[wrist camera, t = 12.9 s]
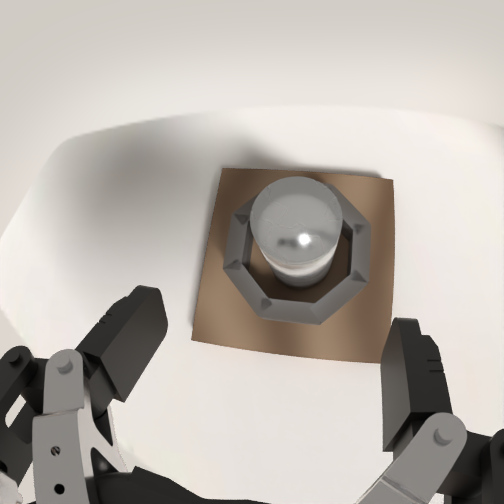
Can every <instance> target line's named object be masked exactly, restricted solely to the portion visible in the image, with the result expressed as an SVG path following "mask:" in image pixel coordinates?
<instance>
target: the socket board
mask: <svg viewBox="0 0 504 504" xmlns="http://www.w3.org/2000/svg"><path fill="white" fill-rule="evenodd" d="M293 176H300V177H307V178H311V179H314V180H316V181H318V182H320V183H322V184H324V185H325V186H326V187H328V188H329V189H330V190H331V191H332V192H333V194H334V195H335V196H336V198H337V200H338V202H339V204H340V207H341V210H342V218H343V221H342V228H341V232H340V236H339V239H338V243H337V246H336V250H335V253H334V257H333V260H332V263H331V266H330V270H329V272H328V274H327V276H326V277H325V278H324V280H323V281H322V282H320V283H319V284H318V285H316V286H314V287H312V288H309V289H305V290H296V289H291V288H289V287H286V286H284V285H283V284H282V283H280V282H279V281H278V280H277V279H276V277H275V276H274V274H273V272H272V270H271V269H270V267H269V265H268V263H267V261H266V259H265V257H264V255H263V253H262V252H261V250H260V248H259V246H258V244H257V242H256V240H255V238H254V236H253V234H252V231H251V226H250V214H251V209H252V206H253V204H254V202H255V200H256V198H257V196H258V195H259V194H260V193H261V191H262V190H263V189H265V188H266V187H267V186H268V185H270V184H271V183H273V182H275V181H277V180H280V179H282V178H286V177H293ZM394 259H395V215H394V188H393V180H392V179H383V178H374V177H365V176H355V175H344V174H333V173H320V172H305V171H288V170H267V169H235V168H223V169H222V174H221V178H220V183H219V188H218V193H217V198H216V202H215V207H214V212H213V218H212V223H211V228H210V233H209V238H208V244H207V249H206V254H205V260H204V266H203V271H202V277H201V283H200V288H199V294H198V300H197V306H196V312H195V319H194V325H193V331H192V338H191V340H193V341H198V342H204V343H209V344H215V345H220V346H226V347H232V348H238V349H245V350H251V351H258V352H265V353H272V354H280V355H288V356H296V357H305V358H315V359H325V360H336V361H348V362H362V363H379V364H381V356H382V352H383V348H384V346H385V343H386V340H387V337H388V334H389V331H390V327H391V316H392V303H393V286H394Z"/></svg>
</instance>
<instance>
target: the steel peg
mask: <svg viewBox="0 0 504 504" xmlns="http://www.w3.org/2000/svg"><path fill="white" fill-rule="evenodd" d="M342 221H343V218H342V210H341V207H340V204H339V202H338V200H337V198H336V196H335V195H334V194H333V192H332V191H331V190H330V189H329V188H328V187H326V186H325V185H324V184H322V183H320V182H318V181H316V180H314V179H311V178H307V177H300V176H293V177H286V178H282V179H280V180H277V181H275V182H273V183H271V184H270V185H268V186H267V187H266V188H265V189H263V190H262V191H261V193H260V194H259V195H258V196H257V198H256V200H255V202H254V204H253V206H252V209H251V214H250V226H251V231H252V234H253V236H254V238H255V240H256V242H257V244H258V246H259V248H260V250H261V252H262V253H263V255H264V257H265V259H266V261H267V263H268V265H269V267H270V269H271V270H272V272H273V274H274V276H275V277H276V279H277V280H278V281H279V282H280V283H282V284H283V285H284V286H286V287H289V288H291V289H296V290H305V289H309V288H312V287H314V286H316V285H318V284H319V283H320V282H322V281H323V280H324V278H325V277H326V276H327V274H328V272H329V270H330V266H331V263H332V260H333V257H334V253H335V250H336V246H337V243H338V239H339V236H340V232H341V228H342Z"/></svg>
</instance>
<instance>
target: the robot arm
mask: <svg viewBox="0 0 504 504" xmlns="http://www.w3.org/2000/svg"><path fill="white" fill-rule="evenodd" d="M167 328H168V321H167V316H166V312H165V308H164V304H163V300H162V295H161V292H160V290H159V289H158V288H153V287H147V286H142V285H139V286H137V287H136V288H135V289H134V290H133V291H132V292H131V293H130V295H129V296H128V297H126V296H125V297H124V298H122V299H120V300H119V301H117V302H116V303H114V304H113V305H112V306H111V307H110V308H109V310H108V311H107V312H106V314H105V315H103V317H102V318H101V319H100V320H99V323H98V322H97V324H96V325H95V326H94V327H93V328H92V329H91V331H90V332H89V333H88V334H87V335H86V337H85V338H84V339H83V340H82V341H81V343H80V344H79V345H78V346H77V347H76V349H75V350H72V349H65V350H61V351H59V352H57V353H55V354H54V355H53V356H52V357H51V358H50V359H43V358H34V357H33V355H32V353H31V352H30V350H29V349H28V348H27V347H25V346H16V347H13V348H12V349H10V350H9V351H7V352H6V353H5V354H4V356H3V357H2V358H1V359H0V504H22V502H23V497H22V495H21V494H20V493H18V487H19V485H20V483H21V481H22V479H23V477H24V475H25V474H26V472H27V470H28V468H29V466H30V464H31V463H32V461H33V473H34V487H35V496H36V501H34V502H31V503H29V504H269V503H263V502H258V501H252V500H218V499H204V498H201V497H199V496H197V495H196V494H194V493H192V492H190V491H189V490H187V489H185V488H184V487H182V486H180V485H179V484H177V483H175V482H174V481H172V480H171V479H169V478H166V477H163V476H161V475H158V474H155V473H152V472H150V471H147V470H145V469H142V468H140V467H137V466H135V467H134V469H133V471H132V473H131V472H128V470H127V468H126V465H125V463H124V461H123V459H122V457H121V455H120V452H119V449H118V444H117V439H116V434H115V428H114V422H113V416H112V410H111V406H110V402H111V401H112V399H116V400H119V401H121V402H125V401H126V399H127V397H128V396H129V394H130V392H131V391H132V389H133V387H134V386H135V384H136V383H137V381H138V379H139V378H140V376H141V374H142V373H143V371H144V370H145V368H146V366H147V365H148V363H149V361H150V360H151V358H152V357H153V355H154V353H155V352H156V350H157V349H158V347H159V345H160V344H161V342H162V341H163V339H164V337H165V335H166V333H167ZM443 371H444V369H443V365H442V362H441V356H440V353H439V349H438V346H437V345H436V343H435V342H434V341H433V339H432V338H431V337H430V335H421V331H420V327H419V323H418V320H417V319H411V318H394V320H393V322H392V325H391V328H390V331H389V334H388V337H387V340H386V343H385V346H384V348H383V352H382V356H381V385H382V411H383V452H393V462H392V463H391V464H390V465H389V466H388V468H387V469H386V470H385V471H384V472H383V473H382V475H381V476H380V477H379V478H378V479H377V480H376V481H375V482H374V483H373V484H372V486H371V487H370V488H369V489H368V490H367V491H366V492H365V493H364V494H363V495H362V496H361V497H360V498H359V499H358V500H357V501H356V502H355V503H354V504H428V503H429V502H430V500H431V498H432V497H433V496H434V494H435V493H439V494H444V504H504V429H501V430H499V431H498V432H497V433H496V434H495V435H494V436H493V437H489V436H485V435H481V434H476V433H472V432H469V431H467V430H466V428H465V425H464V424H463V422H462V421H461V420H460V419H459V418H458V417H456V416H455V415H453V412H452V407H451V402H450V397H449V392H448V387H447V382H446V378H445V373H443ZM20 394H21V396H22V397H23V398H24V399H25V401H26V403H25V404H24V406H23V408H22V409H21V410H20V412H19V414H18V415H17V417H16V418H15V420H14V421H13V423H12V424H11V426H10V427H9V428H8V427H7V425H6V422H5V417H6V414H7V412H8V411H9V409H10V408H11V406H12V405H13V404H14V402H15V401H16V399H17V398H18V396H19V395H20Z"/></svg>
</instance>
